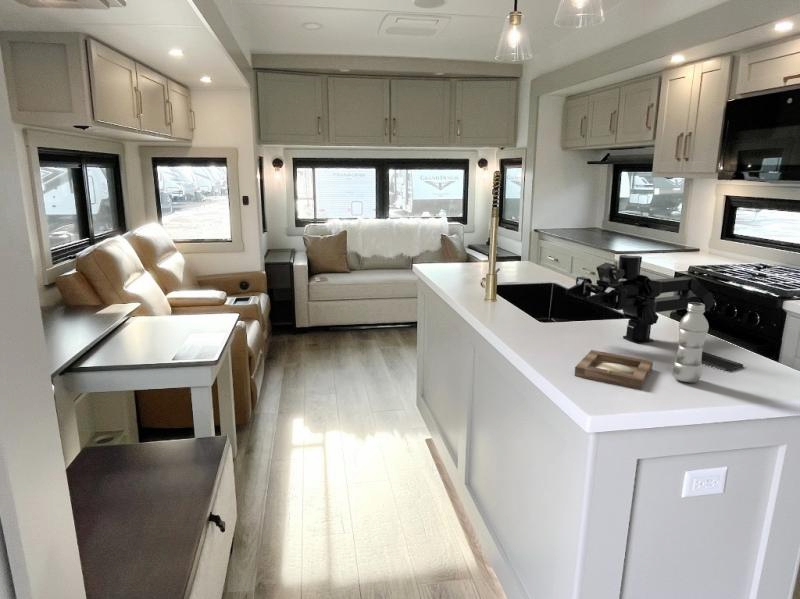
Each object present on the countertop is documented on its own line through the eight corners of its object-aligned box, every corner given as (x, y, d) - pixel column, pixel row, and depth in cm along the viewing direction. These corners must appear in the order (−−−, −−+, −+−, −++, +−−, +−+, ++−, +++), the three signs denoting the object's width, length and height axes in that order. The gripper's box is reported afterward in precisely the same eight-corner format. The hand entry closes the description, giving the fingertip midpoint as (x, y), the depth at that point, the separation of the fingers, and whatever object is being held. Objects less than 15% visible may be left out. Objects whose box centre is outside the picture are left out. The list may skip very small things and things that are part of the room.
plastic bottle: (665, 376, 140) (675, 301, 135) (690, 375, 141) (701, 300, 136) (680, 386, 134) (691, 307, 129) (706, 385, 134) (718, 307, 130)
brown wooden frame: (590, 357, 153) (591, 349, 153) (652, 369, 145) (653, 360, 144) (574, 375, 140) (575, 366, 140) (640, 389, 132) (641, 379, 131)
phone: (693, 348, 159) (745, 364, 146) (692, 352, 159) (744, 368, 146) (676, 352, 155) (727, 369, 143) (675, 356, 156) (727, 373, 143)
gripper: (599, 258, 168) (557, 262, 163) (646, 269, 151) (601, 273, 146) (596, 293, 171) (555, 298, 165) (641, 307, 154) (598, 313, 149)
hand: (576, 295), depth 156 cm, fingers open, 9 cm apart
